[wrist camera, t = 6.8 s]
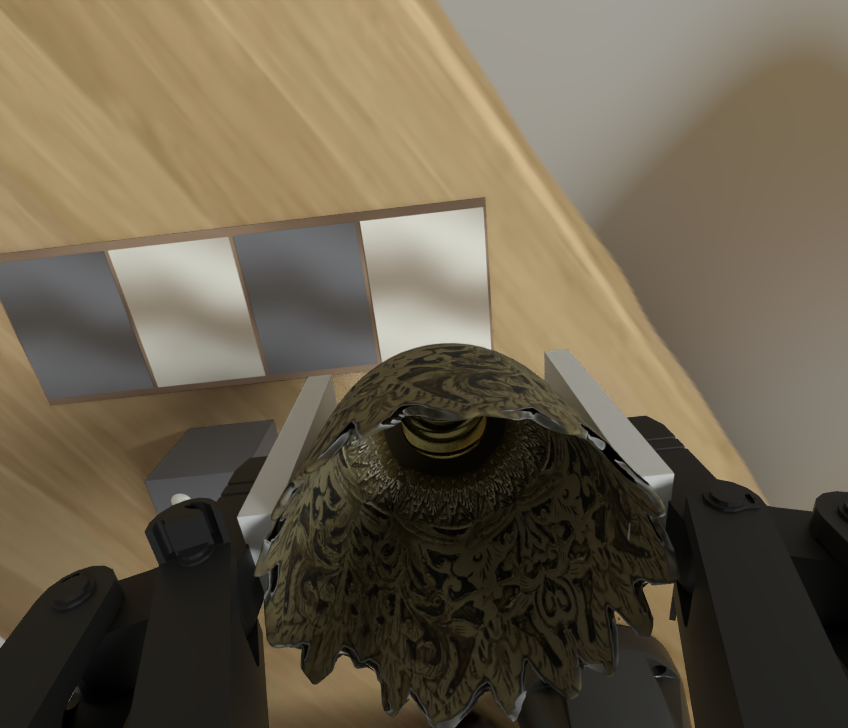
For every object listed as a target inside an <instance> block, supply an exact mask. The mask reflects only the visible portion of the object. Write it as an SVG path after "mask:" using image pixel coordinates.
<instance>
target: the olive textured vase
mask: <svg viewBox="0 0 848 728" xmlns="http://www.w3.org/2000/svg"><path fill="white" fill-rule="evenodd" d="M665 513H666V509H665V506H664V504H663V502H662V500H661V499H660V497H659V496H658V495H657V493H656V492H655V490H654V489H653V488H652V487H651V486H650V484H649V483H648V482H647V481H646V480H644V479H643V478H642V477H641V476H640V475H638V474H637V473H636V472H635V471H634V470H633V469H632V468H631V467H630V466H629V465H628V464H627V463H626V462H625V461H624V460H623V459H622V457H621V456H620V455H619V454H618V453H617V452H616V451H615V450H614V449H613V448H612V447H611V446H610V445H609V444H608V442H607V441H606V440H605V439H604V438H603V437H602V436H601V435H600V434H599V433H598V432H597V431H596V430H595V429H594V428H593V427H592V426H591V425H590V424H589V423H588V422H587V421H586V420H585V419H584V418H583V417H582V416H581V415H580V414H579V413H578V412H577V411H576V410H575V409H574V408H573V407H572V406H571V405H570V404H569V403H568V402H567V401H566V400H565V399H564V398H563V397H562V396H561V395H560V394H559V393H558V392H556V391H555V390H554V389H553V388H552V387H551V386H550V385H549V384H548V383H547V382H545V381H544V380H543V379H542V378H540V377H539V376H538V375H536V374H535V373H534V372H532V371H531V370H530V369H528V368H527V367H526V366H524V365H522V364H521V363H519V362H517V361H515V360H514V359H512V358H509V357H507V356H505V355H503V354H501V353H498V352H496V351H493V350H490V349H487V348H484V347H480V346H475V345H470V344H460V343H440V344H432V345H426V346H421V347H417V348H413V349H410V350H407V351H404V352H401V353H399V354H397V355H395V356H393V357H391V358H389V359H387V360H386V361H384V362H382V363H381V364H379V365H378V366H376V367H375V368H374V369H372V370H371V371H370V372H368V373H367V374H366V375H365V376H363V377H362V378H361V379H360V380H359V381H358V382H357V383H356V384H355V385H354V386H353V387H352V388H351V389H350V391H349V392H348V393H347V394H346V395H345V397H344V398H343V399H342V400H341V402H340V403H339V404H338V405H337V407H336V408H335V410H334V411H333V413H332V414H331V415H330V417H329V419H328V420H327V422H326V423H325V425H324V427H323V428H322V430H321V432H320V433H319V435H318V436H317V438H316V440H315V441H314V443H313V445H312V446H311V448H310V450H309V451H308V453H307V455H306V456H305V458H304V460H303V461H302V463H301V465H300V466H299V468H298V470H297V471H296V473H295V475H294V476H293V478H292V479H291V481H290V482H289V484H288V485H287V486H286V488H285V489H284V491H283V493H282V495H281V496H280V498H279V500H278V501H277V503H276V505H275V507H274V509H273V511H272V514H271V520H272V521H274V522H273V524H272V526H271V528H270V530H269V532H268V533H267V535H266V536H265V537H264V540H263V544H262V548H261V551H260V555H259V558H258V561H257V564H256V567H255V572H254V576H255V577H259V576H263V575H264V574H266V573H267V572H268V583H267V588H266V592H265V595H264V614H265V625H266V637H267V640H268V642H269V644H270V645H271V646H272V647H274V648H284V647H290V648H292V647H295V648H297V649H302V653H301V669H302V670H303V672H304V674H305V675H306V676H307V677H308V679H309V680H310V681H311V682H312V684H318V683H319V682H321V681H322V680H323V679H324V678H325V677H326V676H328V675H329V674H330V673H331V672H332V671H333V668H334V665H335V662H336V661H337V659H338V658H339V657H341V656H342V655H345V656H348V657H350V658H351V660H352V662H353V664H354V667H355V668H357V669H359V668H365V667H368V668H370V667H372V668H374V669H375V671H376V675H377V680H378V681H379V682H380V684H381V694H382V705H383V708H384V711H385V712H386V713H387V714H389V715H390V716H392V717H393V716H395V715H397V714H398V713H399V712H400V711H401V710H402V708H403V706H404V705H405V704H406V703H407V701H408V700H409V699H408V700H407V697H408V695H409V694H410V695H411V697H412V698H413V699H414V700H415V702H416V704H417V706H418V708H419V709H420V711H421V712H422V713H423V714H424V716H425V717H426V718H427V720H428V722H429V724H430V725H431V726H432V727H433V728H455V727H456V726H457V725H458V724H459V722H460V721H461V720H462V719H463V718H464V717H465V716H466V715H467V714H468V713H469V712H470V711H472V707H474V706H475V704H476V703H477V701H478V699H479V697H480V696H482V695H483V694H484V693H485V692H488V691H491V692H492V694H493V695H494V698H495V701H496V702H497V705H498V706H499V707H501V708H502V710H503V711H504V713H505V714H506V716H507V717H508V719H509V720H510V721H512V722H515V721H516V720H517V718H518V715H519V713H520V711H521V708H522V704H523V701H524V699H525V697H526V691H525V677H526V671H527V670H526V667H527V665H528V664H531V666H532V667H531V669H533V670H534V672H535V673H536V674H537V675H538V677H539V678H540V679H541V680H542V681H543V682H544V683H546V682H547V683H548V684H549V685H550V686H551V687H552V688H554V689H555V690H556V691H557V692H558V693H560V694H561V695H563V696H564V697H566V698H569V699H574V698H576V697H577V696H578V695H579V692H580V690H581V669H585V666H586V667H589V668H591V669H594V670H596V671H598V672H600V673H602V674H603V675H604V676H606V677H612V676H613V675H614V674H615V672H616V668H617V665H618V660H619V644H618V631H617V626H616V620H615V616H614V611H616V612H617V613H618V614H619V615H620V616H621V617H622V618H623V619H624V621H626V623H627V624H628V625H629V626H630V627H631V628H632V629H633V630H634V631H635V632H636V635H637V636H638V637H644V638H649V637H650V635H651V632H652V629H653V616H652V614H651V611H650V608H649V605H648V603H647V600H646V597H645V595H644V592H643V587H644V586H646V585H647V584H648V583H651V585H661V584H671V583H674V582H676V581H677V580H678V579H679V578H680V570H679V564H678V561H677V558H676V555H675V551H674V548H673V545H672V543H671V541H670V539H669V537H668V534H667V532H666V530H665V529H664V527H663V525H662V523H661V521H660V517H663V516H664V515H665ZM286 517H287V518H286ZM285 518H286V520H285V523H284V524H283V526H282V528H281V530H280V532H279V534H278V535H277V527H278V522H279V520H280V521H283V520H284V519H285ZM629 524H630V535H629V541H628V530H629ZM645 581H647V582H648V583H644V582H645ZM643 583H644V584H643ZM618 620H620V619H619V618H618ZM340 651H343V652H344V653H347V654H348V655H347V654H339V652H340ZM584 663H586V664H588V665H584ZM366 664H367V665H366ZM368 665H369V666H370V667H369V666H368ZM372 668H370V669H371V670H373V669H372ZM373 671H374V670H373ZM488 687H489V688H490V689H491V690H490V689H489V688H488ZM486 688H487V689H486ZM481 691H482V692H481ZM480 692H481V693H480ZM479 693H480V694H479ZM478 694H479V695H478Z"/></svg>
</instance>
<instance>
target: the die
mask: <svg viewBox="0 0 848 728" xmlns="http://www.w3.org/2000/svg"><path fill="white" fill-rule="evenodd" d="M277 437H278V434H277V430H276V426H275V423H274V420H265V421H256V422H246V423H237V424H228V425H218V426H209V427H200V428H191V429H189V430H188V431H187V432H186V433H185V434H184V435H183V437H182V438H181V439H180V440H179V441H178V442H177V444H176V445H175V446H174V447H173V448H172V449H171V451H170V452H169V453H168V454H167V455H166V456H165V458H164V459H163V460H162V461H161V462H160V463H159V465H158V466H157V467H156V468H155V469H154V470H153V472H152V473H151V474H150V475H149V476H148V477H147V479H146V480H145V481H144V482H145V484H146V487H147V489H148V492H149V494H150V496H151V499H152V501H153V503H154V506H155V508H156V510H157V513H158V514H159V513H161V512H162V511H164V510H166V509H167V508H169V507H170V506H172V505H175V504H177V503H180V502H182V501H185V500H189V499H194V498H210V499H212V500H214V501H216V502H217V500H218V499H219V497H221V493H222V492H223V490H224V488H225V487H226V486H228V484H227V483H228V482H229V480H230V478H231V477H232V475H233V473H234V472H235V470H236V469H237V468H238V467H240V466H241V465H242V464H243V463H244V462H245V461H247V460H248V459H249V458H253V457H263V456H268V455H269V453H270V451H271V449H272V447H273V445H274V443H275V441H276V439H277Z"/></svg>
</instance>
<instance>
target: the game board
mask: <svg viewBox="0 0 848 728" xmlns="http://www.w3.org/2000/svg"><path fill="white" fill-rule="evenodd" d="M0 302H1V304H2V306H3V308H4V310H5V312H6V314H7V316H8V318H9V320H10V322H11V324H12V327H13V329H14V331H15V333H16V335H17V337H18V339H19V341H20V343H21V345H22V347H23V349H24V351H25V354H26V356H27V358H28V360H29V362H30V364H31V366H32V368H33V370H34V372H35V374H36V376H37V379H38V381H39V383H40V385H41V387H42V389H43V391H44V393H45V395H46V397H47V399H48V401H49V403H50V405H59V404H68V403H77V402H87V401H96V400H105V399H114V398H124V397H133V396H142V395H151V394H161V393H170V392H179V391H188V390H198V389H207V388H216V387H225V386H235V385H244V384H253V383H262V382H271V381H281V380H290V379H299V378H308V377H311V376H321V375H330V374H331V375H336V374H345V373H355V372H364V371H371V370H372V369H374V368H375V367H376V366H378V365H379V364H381V363H382V362H384V361H386V360H387V359H389V358H391V357H393V356H395V355H397V354H399V353H401V352H404V351H407V350H410V349H413V348H417V347H421V346H426V345H432V344H440V343H460V344H470V345H475V346H480V347H484V348H487V349H490V350H493V334H492V315H491V297H490V278H489V260H488V241H487V223H486V204H485V197H484V198H475V199H467V200H458V201H449V202H441V203H432V204H424V205H415V206H406V207H398V208H389V209H381V210H372V211H364V212H355V213H346V214H338V215H329V216H321V217H312V218H304V219H295V220H286V221H278V222H269V223H261V224H252V225H244V226H235V227H226V228H218V229H209V230H201V231H192V232H183V233H175V234H166V235H158V236H149V237H141V238H132V239H123V240H115V241H106V242H98V243H89V244H81V245H72V246H63V247H55V248H46V249H38V250H29V251H21V252H12V253H3V254H0Z"/></svg>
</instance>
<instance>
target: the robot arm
mask: <svg viewBox="0 0 848 728" xmlns="http://www.w3.org/2000/svg"><path fill="white" fill-rule="evenodd" d="M544 358H545V382H547V383H548V384H549V385H550V386H551V387H552V388H553V389H554V390H555V391H556V392H558V393H559V394H560V395H561V396H562V397H563V398H564V399H565V400H566V401H567V402H568V403H569V404H570V405H571V406H572V407H573V408H574V409H575V410H576V411H577V412H578V413H579V414H580V415H581V416H582V417H583V418H584V419H585V420H586V421H587V422H588V423H589V424H590V425H591V426H592V427H593V428H594V429H595V430H596V431H597V432H598V433H599V434H600V435H601V436H602V437H603V438H604V439H605V440H606V441H607V442H608V444H609V445H610V446H611V447H612V448H613V449H614V450H615V451H616V452H617V453H618V454H619V455H620V456H621V457H622V459H623V460H624V461H625V462H626V463H627V464H628V465H629V466H630V467H631V468H632V469H633V470H634V471H635V472H636V473H637V474H638V475H640V476H641V477H642V478H643V479H644V480H646V481H647V482H648V483H649V484H650V486H651V487H652V488H653V489H654V490H655V492H656V493H657V495H658V496H659V497H660V499H661V500H662V502H663V504H664V506H665V509H666V513H665V515H664V516H663V517H660V521H661V523H662V525H663V527H664V529H665V530H666V532H667V534H668V537H669V539H670V541H671V543H672V545H673V548H674V551H675V555H676V558H677V561H678V564H679V570H680V578H679V579H678V580H677V581H676V582H674V588H673V595H672V602H671V610H670V618H669V620H674V621H675V620H676V614H677V620H678V626H679V632H680V638H681V644H682V651H683V657H684V663H685V669H686V675H687V681H688V687H689V693H690V699H691V705H692V711H693V717H694V723H695V728H848V492H839V491H835V492H828V493H823V494H822V495H820V496H819V497H818V498H816V501H815V504H814V508H813V512H811V511H803V510H794V509H785V508H776V507H771V506H766V504H765V503H764V502H763V500H762V499H761V498H760V497H759V496H758V495H757V494H755V493H754V492H752V491H751V490H749V489H748V488H746V487H743V486H741V485H738V484H736V483H733V482H728V481H723V480H718V479H716V478H715V477H714V476H713V475H712V474H711V473H710V472H709V471H708V470H707V469H706V468H705V467H704V466H703V465H702V464H701V463H700V462H699V460H698V459H697V458H696V457H695V456H694V455H693V454H692V453H691V452H690V451H689V450H688V449H685V447H684V445H683V444H682V443H681V442H680V441H679V440H678V439H675V436H674V435H673V434H672V433H671V432H670V431H669V430H668V429H667V428H666V427H665V426H664V425H663V424H661V423H659V422H657V421H655V420H654V419H652V418H650V417H648V416H638V417H628V418H627V417H626V416H625V415H624V414H623V413H622V412H621V410H620V409H619V408H618V407H617V406H616V405H615V403H614V402H613V401H612V400H611V399H610V398H609V396H608V395H607V394H606V393H605V392H604V390H603V389H602V388H601V387H600V386H599V385H598V383H597V382H596V381H595V380H594V379H593V378H592V376H591V375H590V374H589V373H588V372H587V371H586V369H585V368H584V367H583V366H582V365H581V364H580V362H579V361H578V360H577V359H576V358H575V356H574V355H573V354H572V353H571V352H570V351H569V349H564V350H555V351H545V352H544ZM336 407H337V400H336V395H335V390H334V385H333V380H332V375H331V374H330V375H321V376H311V377H308V378H307V380H306V382H305V384H304V386H303V388H302V390H301V392H300V394H299V396H298V398H297V400H296V402H295V404H294V406H293V408H292V410H291V412H290V414H289V416H288V418H287V420H286V422H285V424H284V425H283V427H282V429H281V431H280V433H279V435H278V437H277V439H276V441H275V443H274V445H273V447H272V449H271V451H270V453H269V455H268V456H263V457H253V458H249V459H248V460H247V461H245V462H244V463H243V464H242V465H241V466H240V467H238V468H237V469H236V470H235V472H234V473H233V475H232V477H231V478H230V480H229V482H228V483H227V484H228V486H226V487H225V488H224V490H223V492H222V493H221V497H219V499H218V500H217V502H216V501H214V500H212V499H210V498H194V499H189V500H185V501H182V502H180V503H177V504H175V505H172V506H170V507H169V508H167V509H166V510H164V511H162V512H161V513H159V514H158V515H157V516H156V517H155V518H154V519H153V520H152V521H151V522H150V523H149V525H148V527H147V528H146V530H145V534H146V536H147V539H148V541H149V543H150V545H151V548H152V550H153V552H154V555H155V557H156V559H157V561H158V564H159V567H157V568H155V569H152V570H150V571H147V572H143V573H140V574H137V575H134V576H131V577H128V578H125V579H122V580H119V581H118V579H117V577H116V575H115V573H114V571H113V569H111V568H109V567H107V566H91V567H88V568H84V569H81V570H78V571H76V572H74V573H71V574H70V575H67V576H66V577H64V578H62V579H61V580H59V581H58V582H56V583H55V584H54V585H52V586H51V587H49V588H48V589H47V590H46V591H45V592H44V593H43V594H42V595H41V596H40V597H39V598H38V599H37V600H36V602H35V603H34V604H33V606H32V607H31V608H30V610H29V611H28V612H27V614H26V615H25V616H24V618H23V619H22V620H21V622H20V623H19V624H18V626H17V627H16V628H15V629H14V631H13V632H12V633H11V635H10V636H9V637H8V639H7V640H6V641H5V643H4V644H3V645H2V647H1V648H0V728H269V721H268V707H267V692H266V677H265V663H264V648H263V634H262V629H261V627H260V624H259V621H258V618H257V617H258V614H259V611H260V608H261V605H262V603H263V600H264V595H265V592H266V588H267V583H268V572H267V573H266V574H264V575H263V576H259V577H255V576H254V572H255V567H256V564H257V561H258V558H259V555H260V551H261V548H262V544H263V540H264V537H265V536H266V535H267V533H268V532H269V530H270V528H271V526H272V524H273V522H274V521H272V520H271V514H272V511H273V509H274V507H275V505H276V503H277V501H278V500H279V498H280V496H281V495H282V493H283V491H284V489H285V488H286V486H287V485H288V484H289V482H290V481H291V479H292V478H293V476H294V475H295V473H296V471H297V470H298V468H299V466H300V465H301V463H302V461H303V460H304V458H305V456H306V455H307V453H308V451H309V450H310V448H311V446H312V445H313V443H314V441H315V440H316V438H317V436H318V435H319V433H320V432H321V430H322V428H323V427H324V425H325V423H326V422H327V420H328V419H329V417H330V415H331V414H332V413H333V411H334V410H335V408H336ZM286 518H287V517H286ZM286 518H285V519H284V520H283V521H280V520H279V522H278V527H277V535H278V534H279V532H280V530H281V528H282V526H283V524H284V523H285V520H286ZM629 535H630V524H629V530H628V541H629ZM616 626H617V631H618V644H619V660H618V665H617V668H616V672H615V674H614V675H613V676H612V677H606V676H604V675H603V674H602V673H600V672H598V671H596V670H594V669H591V668H589V667H586V666H585V669H581V690H580V692H579V695H578V696H577V697H576V698H574V699H569V698H566V697H564V696H563V695H561V694H560V693H558V692H557V691H556V690H555V689H554V688H552V687H551V686H550V685H549V684H548V683H547V682H546V683H544V682H543V681H542V680H541V679H540V678H539V677H538V675H537V674H536V673H535V672H534V670H533V669H531V667H532V666H531V664H528V665H527V667H526V670H527V671H526V677H525V691H526V697H525V699H524V701H523V704H522V708H521V711H520V713H519V715H518V718H517V720H518V723H519V725H520V727H521V728H692V727H691V722H690V716H689V711H688V706H687V701H686V696H685V691H684V686H683V682H682V679H681V677H680V674H679V672H678V670H677V668H676V666H675V665H674V663H673V661H672V659H671V657H670V655H669V653H668V651H667V650H666V648H665V647H664V646H663V645H662V644H661V643H660V642H659V641H658V640H657V639H655V638H654V637H652V636H651V635H650V637H649V638H644V637H638V636H637V635H636V632H635V631H634V630H633V629H632V628H630V627H626V626H619V625H616ZM584 665H588V664H586V663H584ZM74 690H75V691H74ZM73 692H74V693H73ZM72 694H73V695H72ZM71 696H72V697H71ZM70 698H71V699H70ZM69 699H70V700H69ZM68 701H69V702H68Z"/></svg>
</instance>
